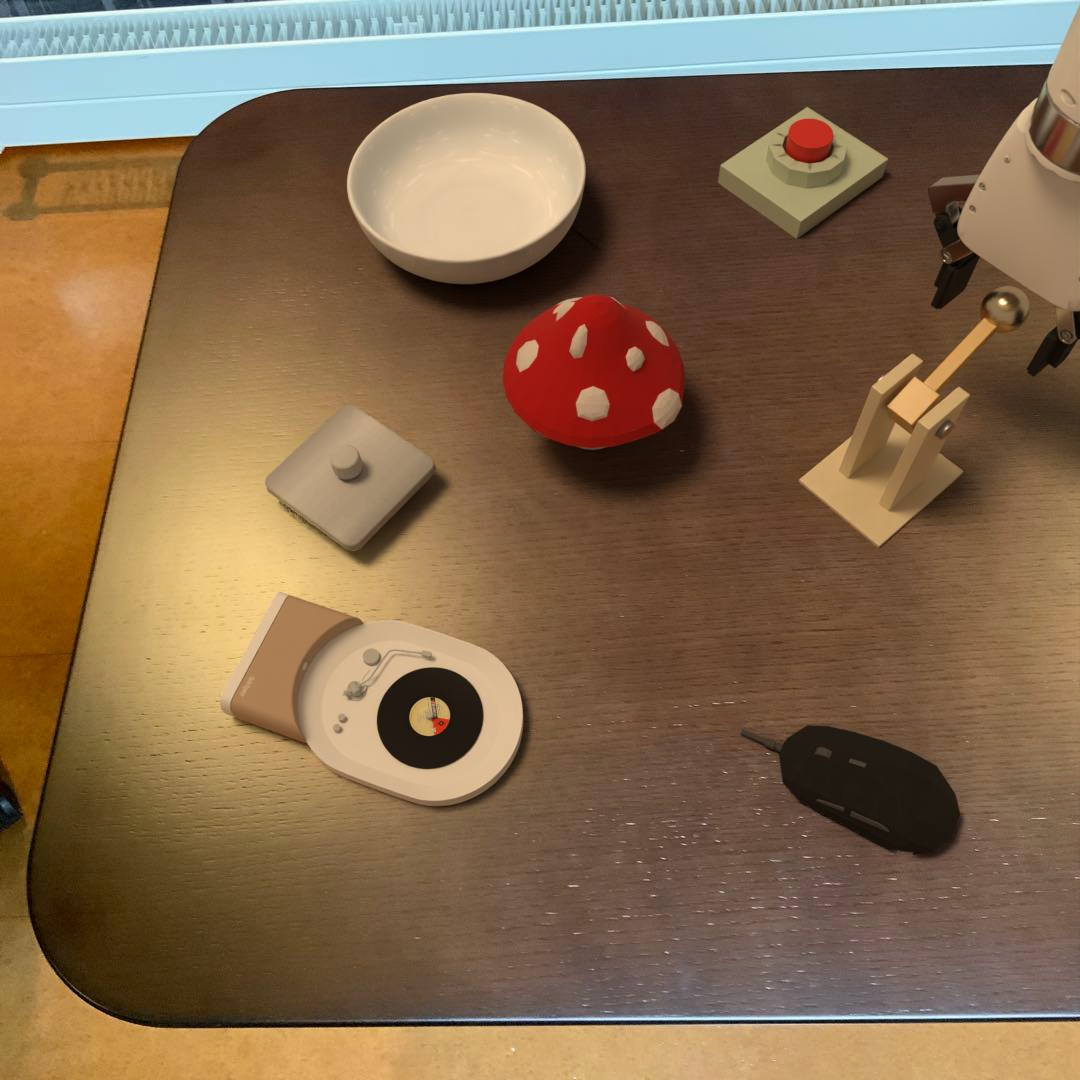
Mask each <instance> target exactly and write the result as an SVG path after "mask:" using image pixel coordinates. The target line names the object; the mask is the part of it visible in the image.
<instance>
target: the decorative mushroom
mask: <svg viewBox="0 0 1080 1080" xmlns="http://www.w3.org/2000/svg"><path fill="white" fill-rule="evenodd" d="M685 383H686V381H685V364H684V361H683V358H682V356H681V353H680V350H679V347H678V346H677V344H676V342H675V341H674V340H673V338H672V337H671V335H670V334H669V333H668V331H667V329H665V328H664V326H662V325H661V324H660V323H658V322H657V320H655V319H654V318H653V317H651V316H649V315H648V314H646V313H645V312H642V311H641V310H639V309H636V308H635V307H633V306H631V305H627V304H623V303H620V301H618V300H617V299H616V298H615V297H612V296H609V295H604V294H594V293H593V294H588V295H585V296H581V297H573V298H568V299H564V300H562V301H560V302H559V303H557V304H555V305H553V306H552V307H550V308H548V309H547V310H545V311H544V312H541V313H540V314H539V315H538V316H536V317H535V318H534V319H533V320H531V321H530V322H529V323H527V324H525V326H524V327H523V328H522V329H521V331H520V332H519V334H518V335H517V336H516V337H515V338H514V340H513V341H512V343H511V344H510V346H509V349H508V351H507V353H506V356H505V359H504V361H503V369H502V384H503V389H504V393H505V396H506V399H507V401H508V402H509V404H510V406H511V408H512V410H513V411H514V413H515V414H516V415H517V417H518V418H520V419H521V420H522V421H523V422H524V424H526V425H527V426H528V427H529V428H530V429H532V430H533V431H535V432H536V433H539V434H540V435H541V436H543V437H545V438H547V439H549V440H552V441H555V442H557V443H561V444H563V445H566V446H569V447H577V448H579V449H582V450H588V451H589V450H590V451H595V450H602V449H605V448H610V447H617V446H621V445H623V444H628V443H631V442H635V441H637V440H640V439H643V438H645V437H649V436H651V435H654V434H656V433H658V432H660V431H662V430H664V429H665V428H667V427H668V426H669V425H670V424H672V423H673V422H675V421H676V418H677V416H678V415H679V413H680V412H681V409H682V408H683V401H684V392H685Z"/></svg>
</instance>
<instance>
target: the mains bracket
mask: <svg viewBox="0 0 1080 1080" xmlns="http://www.w3.org/2000/svg"><path fill="white" fill-rule="evenodd" d="M923 363H924V361H923V359H921V358H920V357H919V356H917V355H916V354H915V353H911V354H910V355H908V356H907V357H906V358H904V359H903V360H902V361H901V362H899V363H898V364H897V365H895V366H894V367H893V368H892V369H891V370H890V371H888V372H887V373H884V374H882V375H881V376H880V377H879V378H878V379H877V380H876V382H875V383H874V384H872V386H871V387H870V389H869V391H868V392H869V393H868V394H867V395H868V396H867V398H866V400H865V402H864V405H863V408H862V410H861V413H860V415H859V418H858V420H857V423H856V425H855V428H854V431H853V433H852V435H851V436H849V438H847V439H846V440H845V441H844V442H842V443H841V444H840V445H839V446H838V447H836V448H835V449H834V450H833V451H832V452H830V453H829V454H828V455H827V456H826V457H824V458H823V459H822V460H821V461H820V462H819V463H817V464H816V465H815V466H814V467H812V468H811V469H810V470H809V471H807V473H805V474H804V475H803V476H801V477H800V478H799V479H798V483H799V484H800V485H801V486H803V487H804V488H805V489H806V490H807V491H809V492H810V493H811V494H812V495H814V497H816V498H817V499H818V500H820V501H821V502H822V503H823V504H825V505H826V507H828V508H829V509H831V510H832V511H833V512H834V513H835V514H836V515H838V516H839V517H840V518H841V519H843V520H844V521H845V522H846V523H847V524H848V525H850V526H851V527H852V528H853V529H854V530H855V531H857V532H858V533H859V534H861V535H862V536H863V537H864V538H865V539H867V540H868V541H869V542H870V543H872V544H873V545H874V546H875V547H877V548H878V549H880V548H881V547H882V546H883V545H884V544H885V543H886V542H887V541H888V540H890V539H891V538H892V537H893V536H894V535H896V533H898V532H899V531H900V530H901V529H902V528H904V527H905V526H906V525H907V524H908V523H909V522H910V521H911V520H912V519H913V518H915V517H916V516H917V515H918V514H919V513H920V512H921V511H922V510H924V509H925V508H926V507H927V506H928V505H929V504H930V503H932V502H933V501H934V500H935V499H936V498H937V497H938V496H939V495H940V494H942V493H943V492H944V491H945V490H946V489H947V488H948V487H949V486H950V485H952V484H953V483H954V482H955V481H956V480H957V479H959V478H960V476H962V475H963V473H964V470H963V469H962V468H960V467H958V466H957V465H956V464H955V463H953V462H952V461H951V460H950V459H948V458H947V457H945V455H943V454H941V450H942V448H943V447H944V445H945V443H946V441H947V439H948V437H949V436H950V434H951V432H952V431H953V429H954V428H955V425H956V422H957V421H958V419H959V417H960V415H961V413H962V411H963V409H964V407H965V405H966V404H967V402H968V400H969V398H970V396H971V394H970V393H969V392H967V391H966V390H964V389H963V388H962V387H960V386H957V387H956V388H955V389H953V390H952V391H951V392H950V393H949V394H948V395H947V396H945V397H944V398H943V399H942V400H940V403H939V404H937V405H936V406H935V407H934V408H933V409H932V410H930V411H929V412H928V413H927V414H926V415H924V416H923V417H922V418H921V419H920V420H919V421H918V422H917V424H916V426H915V428H914V430H913V433H912V435H911V434H910V433H908V432H907V431H906V430H905V429H903V428H902V427H901V426H899V425H898V424H897V423H895V422H894V421H893V420H891V419H890V418H889V417H888V411H887V405H888V404H889V403H890V402H891V401H892V400H893V399H894V398H895V397H896V396H897V395H898V394H899V393H900V392H901V391H902V389H903V388H904V387H905V386H906V385H907V384H908V383H909V382H910V381H911V380H912V379H913V378H914V377H916V378H917V376H918V374H919V371H920V370H921V367H922V365H923Z"/></svg>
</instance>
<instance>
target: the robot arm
mask: <svg viewBox="0 0 1080 1080" xmlns="http://www.w3.org/2000/svg"><path fill="white" fill-rule="evenodd" d="M927 194H928V198H929V202H930V206H931V210H932V214H934V215H935V218H934V219H933V225H934V229H935V231H936V234H937V236H938V239H939V241H940V244H941V246H942V248H941V249H940V251H939V253H938V254H939V258H940V260H941V261H942V264H941V266H940V269H939V271H938V274H937V276H936V279H935V280H934V284H933V286H934V287H935V288H937V289H936V291H935V293H934V296H933V298H932V301H931V302H930V306H931V307H933V308H934V309H935V310H942V309H943V308H945V307H946V306H947V305H948V304H950V303H951V302H952V301H953V300H955V298H957V297H958V296H960V294H962V293H963V292H964V291H965V290H966V289H967V286H968V284H969V282H970V279H971V277H972V275H973V273H974V271H975V269H976V266H977V264H978V262H979V260H980V258H981V259H983V260H984V261H986V262H987V263H989V264H990V265H992V266H993V267H995V268H996V269H998V270H999V271H1000V272H1001V273H1004V274H1005V275H1007V276H1008V277H1010V278H1011V279H1013V280H1014V281H1015V282H1017V283H1019V284H1020V285H1022V286H1023V287H1025V288H1026V289H1028V290H1030V291H1031V292H1033V293H1034V294H1036V295H1037V296H1038V297H1040V298H1042V299H1044V300H1045V301H1046V302H1049V303H1050V304H1052V305H1054V314H1055V323H1056V326H1055V327H1054V328H1053V329H1052V330H1050V331H1049V332H1048V333H1046V335H1045V337H1044V338H1043V340H1042V342H1041V344H1040V345H1039V346H1038V348H1037V350H1036V352H1035V353H1034V355H1033V357H1032V359H1031V361H1030V362H1029V364H1028V365H1027V367H1026V371H1027V374H1029V375H1030V376H1032V377H1033V378H1035V377H1036V376H1037V375H1038V374H1040V373H1041V372H1042V371H1043V370H1044V369H1045V368H1047V366H1051V367H1052V368H1054V369H1056V368H1058V367H1059V366H1060V365H1061V364H1062V363H1064V361H1065V360H1066V359H1067V358H1068V357H1069V355H1070V354H1071V352H1072V351H1073V349H1074V347H1075V346H1076V344H1077V343H1078V341H1079V340H1080V4H1079V5H1078V7H1077V9H1076V12H1075V14H1074V16H1073V18H1072V21H1071V23H1070V25H1069V27H1068V29H1067V32H1066V34H1065V36H1064V38H1063V40H1062V43H1061V45H1060V47H1059V50H1058V52H1057V54H1056V56H1055V58H1054V61H1053V63H1052V66H1051V67H1050V70H1049V71H1048V75H1047V77H1046V79H1045V81H1044V83H1043V85H1042V88H1041V91H1040V92H1039V95H1038V97H1036V98H1035V99H1033V100H1032V101H1031V102H1030V103H1029V104H1028V105H1027V106H1026V107H1024V109H1023V110H1022V111H1021V112H1020V113H1019V115H1018V116H1017V117H1016V119H1015V120H1014V121H1013V122H1012V124H1011V125H1010V127H1009V129H1008V130H1007V131H1006V132H1005V134H1004V136H1003V137H1002V139H1001V140H1000V141H999V142H998V145H997V146H996V148H995V149H994V151H993V152H992V154H991V156H990V157H989V158H988V160H987V162H986V164H985V165H984V168H983V169H982V171H981V173H980V174H971V175H970V174H969V175H968V174H967V175H957V176H956V175H955V176H945V177H941V178H940V179H938V180H936V181H935V182H934V183H932V184H931V185H930V186H929V187H928V188H927ZM959 202H965V203H964V205H963V207H962V208H961V206H959Z"/></svg>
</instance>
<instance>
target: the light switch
mask: <svg viewBox="0 0 1080 1080" xmlns="http://www.w3.org/2000/svg"><path fill="white" fill-rule="evenodd" d="M436 470H437V468H436V463H435V460H434V458H433V457H432V456H430V455H428V454H427V453H425V452H424V451H422V450H421V449H419V447H417V446H416V445H414V444H412V443H411V442H409V441H408V440H406V439H405V438H403V437H402V436H401V435H399V434H397V433H396V432H394V431H393V430H391V429H390V428H389V427H387V426H385V424H384V423H383V424H382V423H381V422H380V421H379V420H377V419H376V418H374V417H372V416H371V415H369V414H368V413H366V412H364V411H363V410H362V409H360V408H359V407H357V406H355V405H353V404H345V405H343V406H341V407H340V408H339V409H338V410H336V411H335V412H334V413H333V415H331V416H330V417H329V418H328V419H326V421H324V423H322V424H321V425H320V426H319V428H317V429H316V430H314V432H313V433H312V434H311V435H310V436H309V437H308V438H306V440H304V441H303V442H302V443H301V444H300V445H299V446H298V447H297V448H296V449H295V450H293V451H292V453H291V454H289V455H288V456H287V457H286V458H285V459H284V460H283V461H282V462H281V463H279V464H278V466H276V468H274V469H273V470H272V471H271V472H270V473H269V474H267V476H266V478H265V481H264V485H265V488H266V490H267V493H269V494H270V495H272V497H274V498H276V499H277V500H278V501H280V503H282V504H283V505H285V506H286V507H288V508H289V509H290V510H292V511H293V512H294V513H296V514H297V515H299V516H300V517H301V518H303V519H304V520H306V521H307V522H308V523H310V525H312V526H314V527H315V528H316V529H318V530H319V531H320V532H322V533H323V534H325V536H327V537H328V538H330V539H331V540H333V542H336V543H337V544H338V545H340V546H341V547H342V548H344V549H345V550H346V551H349V552H355V551H359V550H361V549H362V548H363V547H364V546H365V544H366V543H368V541H370V540H371V539H372V538H373V537H374V535H376V534H377V532H378V531H380V530H381V528H382V527H383V526H384V525H386V523H388V521H390V519H391V518H392V517H393V516H394V515H396V513H397V512H399V510H400V509H401V508H402V507H403V506H404V505H405V504H406V503H407V502H408V501H409V500H410V499H411V498H412V497H413V496H414V495H415V494H416V493H417V492H418V491H419V490H420V489H421V487H423V486H424V485H425V484H426V483H427V482H428V481H429V480H430V479H431V477H433V476H434V475H435V473H436Z"/></svg>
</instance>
